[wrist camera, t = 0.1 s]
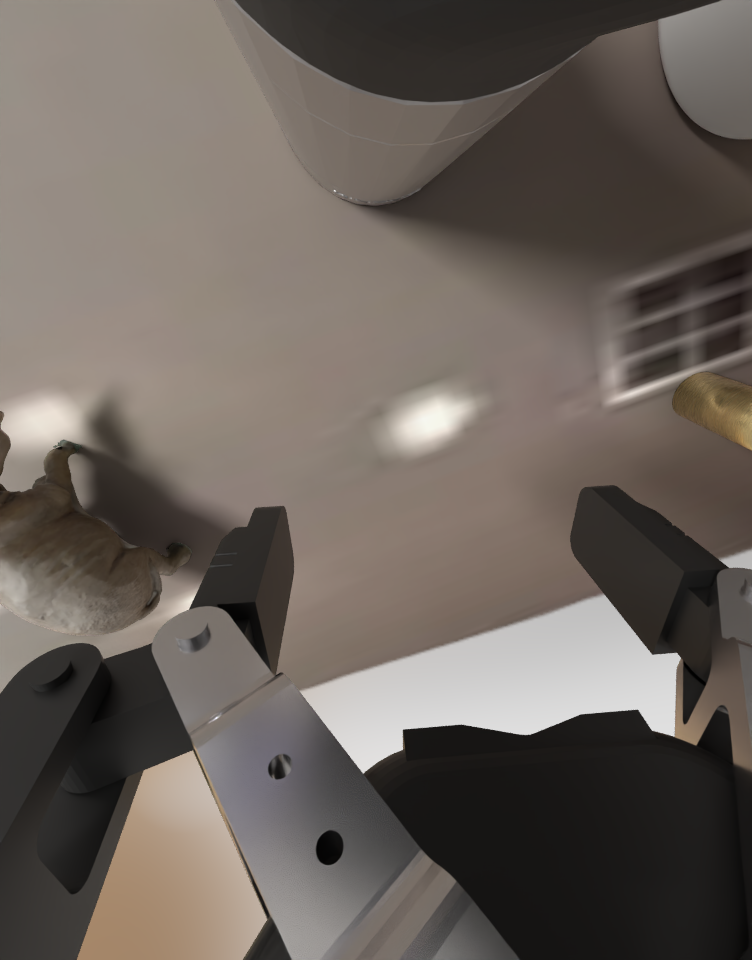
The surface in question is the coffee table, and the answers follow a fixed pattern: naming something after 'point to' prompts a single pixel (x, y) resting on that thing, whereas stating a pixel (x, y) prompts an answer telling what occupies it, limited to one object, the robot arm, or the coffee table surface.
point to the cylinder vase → (711, 65)
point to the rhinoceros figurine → (72, 558)
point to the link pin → (717, 406)
